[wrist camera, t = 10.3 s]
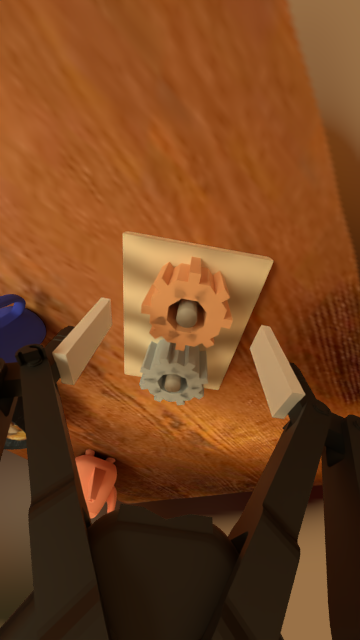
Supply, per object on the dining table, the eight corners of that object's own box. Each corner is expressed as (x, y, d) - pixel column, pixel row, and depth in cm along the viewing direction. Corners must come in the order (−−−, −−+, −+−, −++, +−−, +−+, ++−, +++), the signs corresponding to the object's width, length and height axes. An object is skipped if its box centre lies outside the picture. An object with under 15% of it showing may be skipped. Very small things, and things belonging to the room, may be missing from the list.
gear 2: (138, 337, 27) (127, 363, 23) (200, 328, 25) (201, 354, 21) (157, 379, 32) (151, 406, 28) (211, 374, 30) (212, 402, 26)
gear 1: (154, 249, 20) (143, 263, 16) (237, 264, 20) (247, 282, 16) (149, 318, 25) (139, 343, 21) (215, 330, 25) (219, 357, 21)
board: (127, 231, 21) (99, 244, 15) (269, 257, 21) (296, 280, 15) (127, 367, 33) (111, 403, 27) (217, 382, 33) (221, 422, 28)
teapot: (112, 445, 51) (87, 517, 40) (132, 471, 60) (117, 535, 48) (59, 445, 54) (22, 512, 42) (86, 470, 63) (62, 530, 51)
